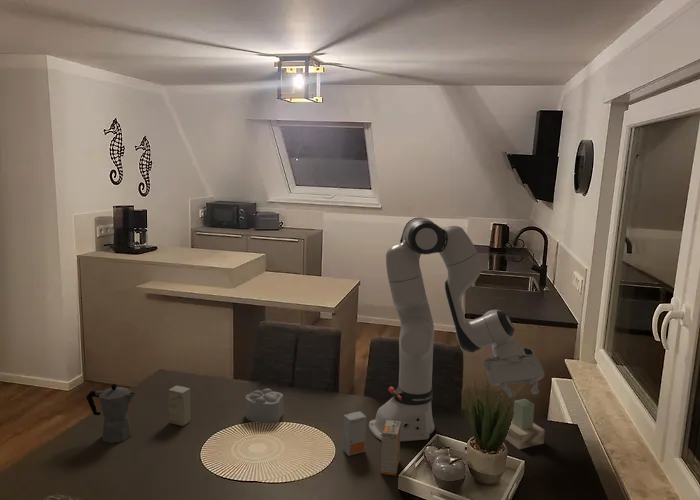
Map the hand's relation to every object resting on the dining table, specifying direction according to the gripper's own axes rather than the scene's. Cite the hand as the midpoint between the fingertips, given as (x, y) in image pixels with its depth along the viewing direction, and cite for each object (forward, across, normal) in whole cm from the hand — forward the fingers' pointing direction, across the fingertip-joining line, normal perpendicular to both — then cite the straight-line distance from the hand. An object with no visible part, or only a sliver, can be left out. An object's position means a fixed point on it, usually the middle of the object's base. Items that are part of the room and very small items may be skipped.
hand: (524, 395), depth 174 cm
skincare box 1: (-21, -104, +48) cm, 116 cm away
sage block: (+7, +1, +8) cm, 11 cm away
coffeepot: (-18, -125, +47) cm, 134 cm away
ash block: (+11, +1, +12) cm, 16 cm away
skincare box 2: (+4, -54, +21) cm, 58 cm away
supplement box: (+12, -47, +12) cm, 50 cm away
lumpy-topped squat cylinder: (-18, -76, +44) cm, 90 cm away
